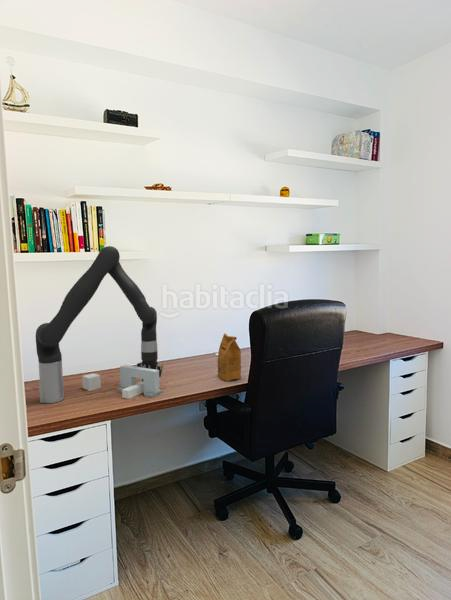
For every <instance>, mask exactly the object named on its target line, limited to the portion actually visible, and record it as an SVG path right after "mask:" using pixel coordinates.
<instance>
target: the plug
mask: <svg viewBox="0 0 451 600" xmlns="http://www.w3.org/2000/svg"><path fill="white" fill-rule="evenodd" d="M141 394H144V384H143V379H142V378H141V381H139V382H136V384H134V385H132V386H130V387H127V388H125V389H122V392H121V397H122V399H126V400H129V399H132V398H134V397H136V396H138V395H141Z"/></svg>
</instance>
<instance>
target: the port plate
mask: <svg viewBox="0 0 451 600" xmlns="http://www.w3.org/2000/svg"><path fill="white" fill-rule="evenodd" d="M119 376H120V381H119V382H120V387H118V388H116V391H117V392H119V393H122V389H125V388H127V387H130V386H132V385H134V384H137V381H136V380H137V379H141V380H142V379H143V384H144V392H143V395H144V397H146V398H151V399H152V398H155V397H156V396H158V395H161V394H163V393H164V390H163V389H160V377H159V370H155V369H148V368H144V367H143V368H142V367H137V366H136V365H135V366H133V365H128V364H123V365H121V366H119ZM136 378H137V379H136Z"/></svg>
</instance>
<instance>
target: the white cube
mask: <svg viewBox="0 0 451 600" xmlns="http://www.w3.org/2000/svg"><path fill="white" fill-rule="evenodd" d="M81 379H82V382H81V383H82V388H83V389H84V390H87V391H89V392H90V391H94V390H98V389H101V388H102V385H101V383H102V382H101V375H100V374H97V373H90V374H89V373H88V374H84V375H81Z"/></svg>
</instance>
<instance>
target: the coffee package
mask: <svg viewBox="0 0 451 600" xmlns="http://www.w3.org/2000/svg"><path fill="white" fill-rule="evenodd" d="M236 340H237V336H229V335H228V334H227V333H223V336H222V339H221V341H220V343H219V348H218V355H217V377H218V378H220V380H223V381H225V380H226V381H225V382H230V381H232V380H239V379H241V378H242V377H241V376H242V373H241V372H242V364H241V362H242V351H241V349H240V346H239V345H238V342H237V341H236Z"/></svg>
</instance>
